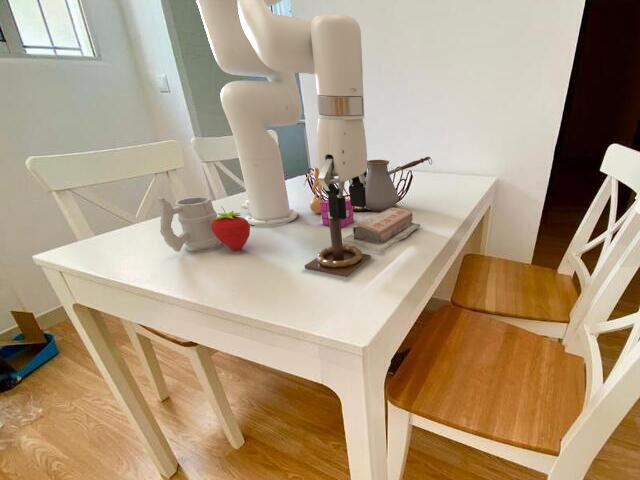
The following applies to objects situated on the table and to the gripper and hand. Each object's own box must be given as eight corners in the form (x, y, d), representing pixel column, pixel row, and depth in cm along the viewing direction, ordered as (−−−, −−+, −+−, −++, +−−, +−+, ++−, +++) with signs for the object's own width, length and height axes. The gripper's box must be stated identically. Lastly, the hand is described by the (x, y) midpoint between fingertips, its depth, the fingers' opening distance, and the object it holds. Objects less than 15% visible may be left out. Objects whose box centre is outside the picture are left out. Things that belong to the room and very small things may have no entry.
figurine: (301, 214, 94) (294, 169, 89) (312, 208, 99) (306, 165, 94) (328, 216, 92) (323, 170, 87) (338, 210, 97) (334, 166, 92)
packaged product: (385, 203, 86) (420, 209, 82) (385, 222, 88) (420, 228, 84) (340, 224, 72) (380, 232, 68) (342, 245, 74) (381, 254, 70)
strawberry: (244, 259, 68) (232, 210, 63) (211, 256, 69) (197, 208, 65) (261, 248, 73) (251, 202, 68) (230, 245, 74) (218, 200, 70)
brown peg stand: (305, 271, 64) (297, 223, 59) (332, 253, 71) (328, 209, 67) (346, 280, 61) (341, 230, 56) (371, 260, 68) (368, 215, 63)
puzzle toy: (336, 218, 91) (333, 197, 88) (354, 221, 89) (352, 199, 86) (322, 224, 86) (319, 202, 84) (341, 228, 84) (339, 205, 82)
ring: (308, 264, 64) (307, 258, 63) (333, 247, 70) (333, 242, 70) (347, 271, 61) (346, 265, 60) (369, 254, 68) (369, 248, 67)
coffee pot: (352, 210, 97) (348, 155, 90) (370, 200, 107) (368, 149, 100) (423, 219, 91) (424, 160, 83) (436, 207, 100) (438, 153, 93)
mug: (234, 241, 76) (219, 187, 70) (185, 263, 67) (164, 202, 61) (208, 237, 79) (193, 184, 73) (158, 256, 69) (136, 197, 63)
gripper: (347, 106, 65) (353, 198, 74) (289, 110, 51) (305, 223, 60) (383, 107, 63) (385, 202, 72) (333, 112, 49) (342, 229, 57)
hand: (348, 211), depth 66 cm, fingers open, 7 cm apart
